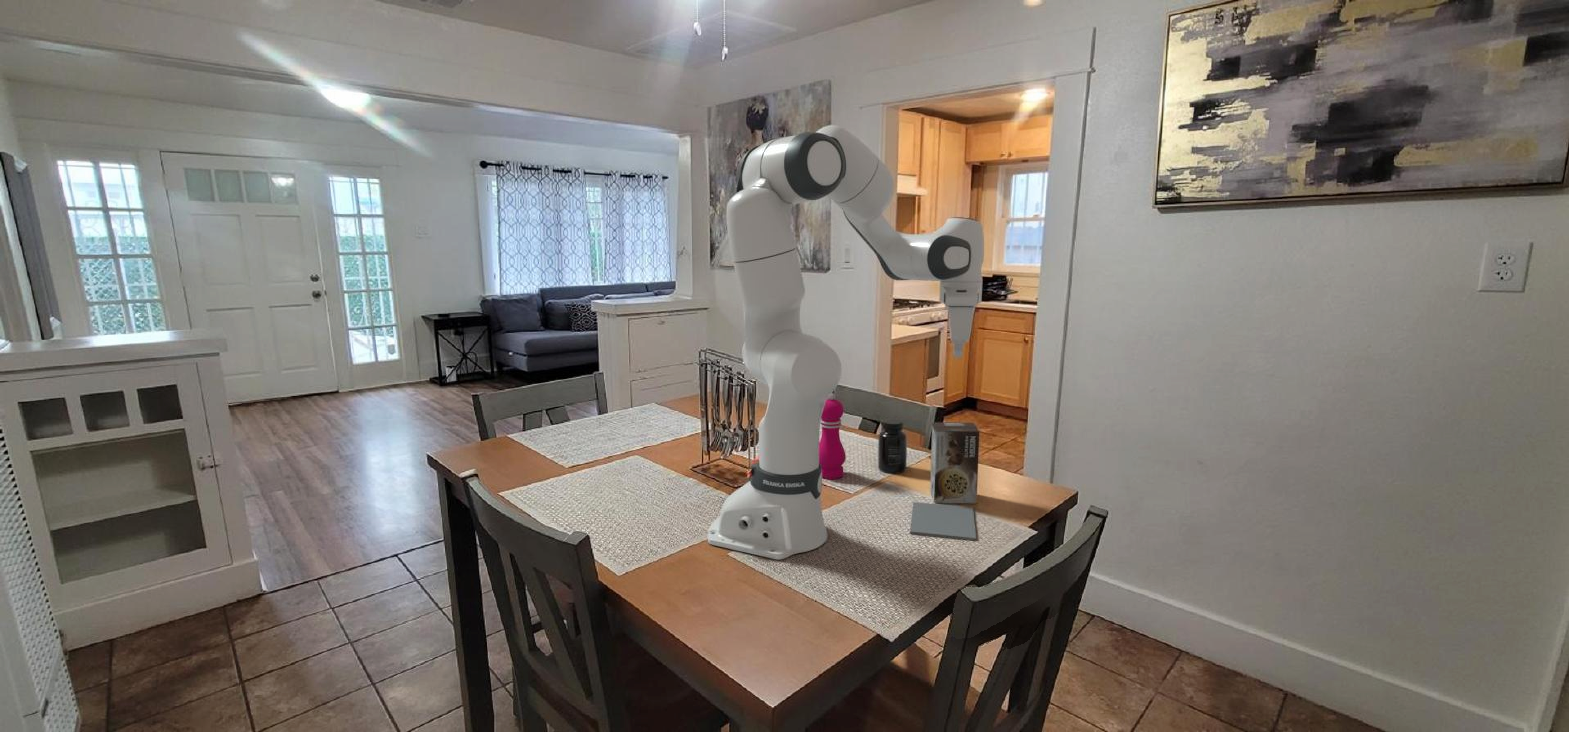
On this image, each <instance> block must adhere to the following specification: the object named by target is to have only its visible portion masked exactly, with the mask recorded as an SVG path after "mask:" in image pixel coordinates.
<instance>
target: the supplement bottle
mask: <svg viewBox="0 0 1569 732" xmlns="http://www.w3.org/2000/svg"><path fill="white" fill-rule="evenodd" d="M881 427H882V431H880V433H879V434H878V437H877V438H878V439H877V440H878V441H877V442H878V443H877V445H878V447H877V449H878V450H877V451H878V453H877V455H878V456H877V465H878V466H877V467H878V469H879V471H881V472H883V473H887V474H901V473H903V472H905V471H906V469H907V464H908V463H907V460H908V459H907V458H908V457H907V456H908V452H907V451H908V449H907V448H908V436H907V434H906V432H904V431H903V430H904V421H903V420H901V419H896V418H895V419H894V418H889V419H884V420H882V426H881Z"/></svg>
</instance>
